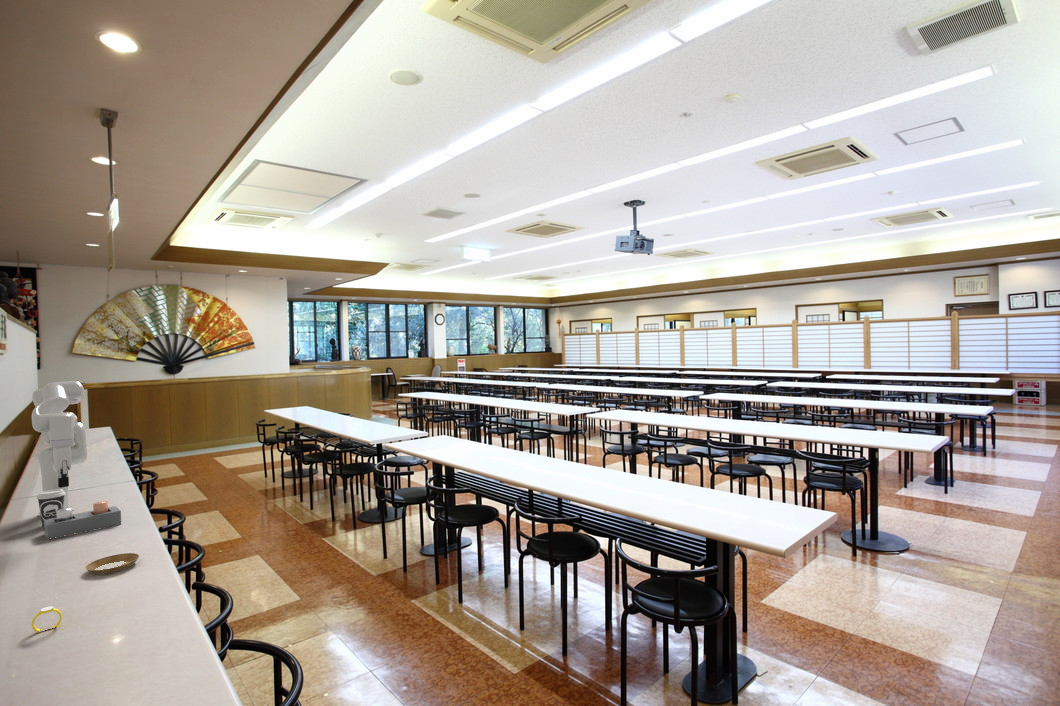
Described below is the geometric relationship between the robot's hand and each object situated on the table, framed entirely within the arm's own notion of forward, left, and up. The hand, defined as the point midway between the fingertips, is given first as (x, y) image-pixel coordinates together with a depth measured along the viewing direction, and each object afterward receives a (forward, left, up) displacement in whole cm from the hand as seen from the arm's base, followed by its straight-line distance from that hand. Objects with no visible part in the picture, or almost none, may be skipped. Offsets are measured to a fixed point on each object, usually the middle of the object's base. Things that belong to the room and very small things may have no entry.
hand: (63, 486), depth 221 cm
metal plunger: (0, 0, -15) cm, 15 cm away
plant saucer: (+63, +5, -20) cm, 66 cm away
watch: (+101, -16, -20) cm, 104 cm away
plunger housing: (0, +6, -20) cm, 21 cm away
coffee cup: (-19, -2, -20) cm, 28 cm away
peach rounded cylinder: (0, +12, -15) cm, 19 cm away
